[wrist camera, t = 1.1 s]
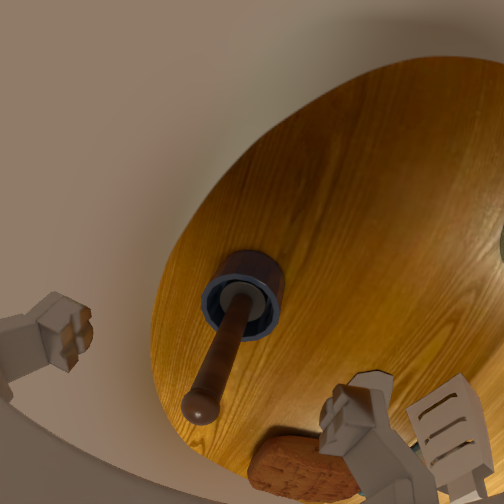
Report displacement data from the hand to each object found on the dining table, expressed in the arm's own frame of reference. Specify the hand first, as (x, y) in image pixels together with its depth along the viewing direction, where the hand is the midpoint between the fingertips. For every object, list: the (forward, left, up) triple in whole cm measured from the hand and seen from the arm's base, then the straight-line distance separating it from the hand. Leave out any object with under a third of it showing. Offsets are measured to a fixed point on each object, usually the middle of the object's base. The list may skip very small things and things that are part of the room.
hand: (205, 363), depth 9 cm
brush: (+9, -6, -24) cm, 26 cm away
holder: (+9, -6, -24) cm, 26 cm away
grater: (+38, +19, -24) cm, 49 cm away
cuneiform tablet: (+47, -5, -24) cm, 53 cm away
